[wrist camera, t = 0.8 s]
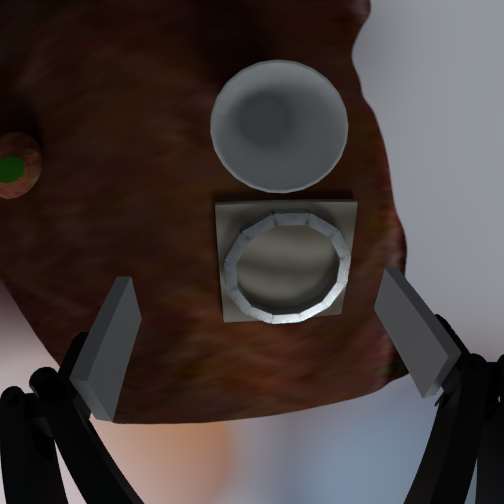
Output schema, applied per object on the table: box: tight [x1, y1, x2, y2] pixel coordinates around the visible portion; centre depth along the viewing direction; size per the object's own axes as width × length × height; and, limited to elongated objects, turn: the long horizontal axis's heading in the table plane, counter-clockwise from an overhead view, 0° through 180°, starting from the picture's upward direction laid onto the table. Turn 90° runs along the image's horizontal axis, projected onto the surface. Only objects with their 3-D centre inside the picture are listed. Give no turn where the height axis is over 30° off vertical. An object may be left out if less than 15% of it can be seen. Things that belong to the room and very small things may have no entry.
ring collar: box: [224, 208, 351, 324], centre depth 40 cm, size 16×16×2 cm
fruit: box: [0, 132, 43, 199], centre depth 27 cm, size 9×10×10 cm
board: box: [215, 199, 357, 322], centre depth 41 cm, size 18×18×1 cm
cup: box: [210, 59, 348, 193], centre depth 27 cm, size 10×10×14 cm
